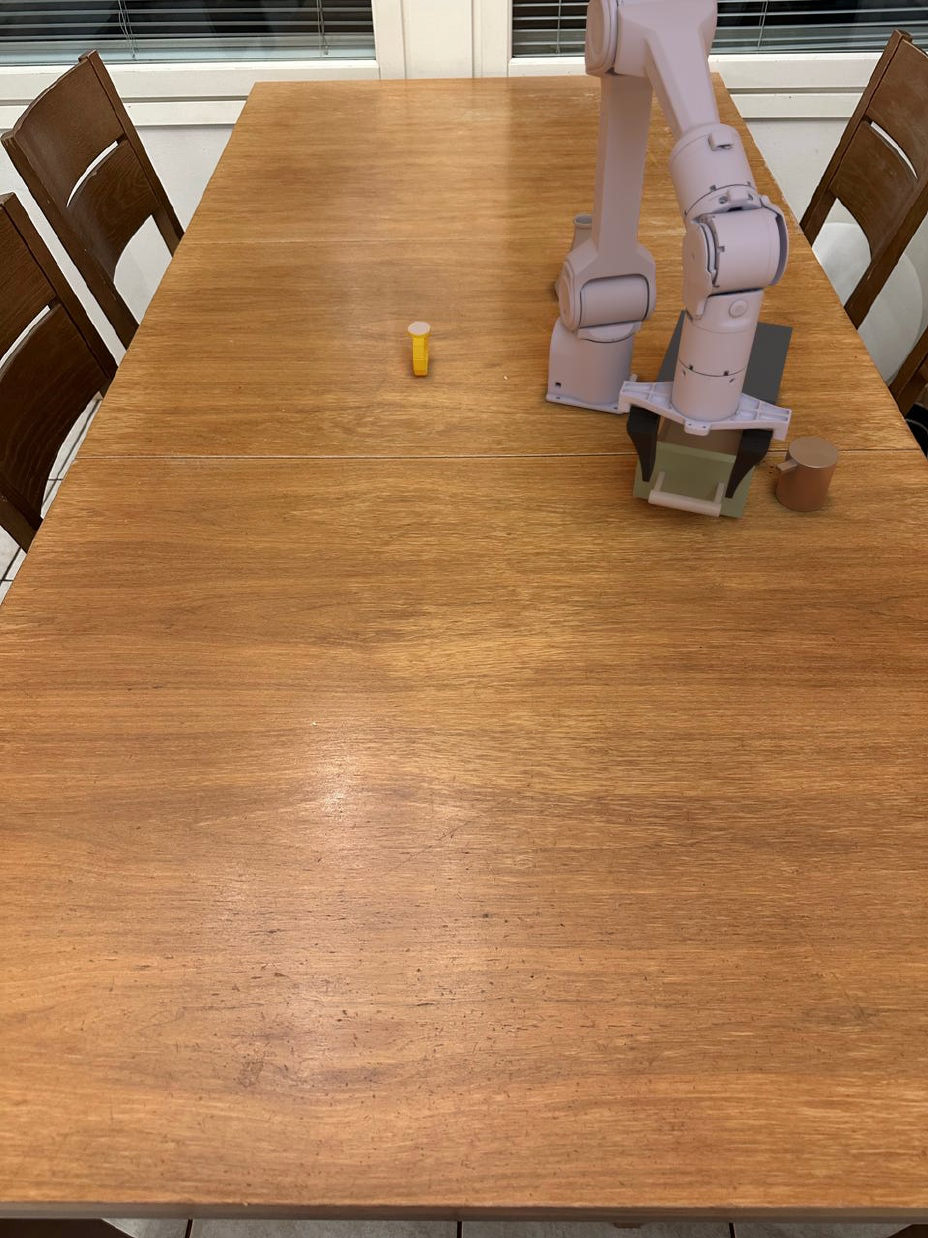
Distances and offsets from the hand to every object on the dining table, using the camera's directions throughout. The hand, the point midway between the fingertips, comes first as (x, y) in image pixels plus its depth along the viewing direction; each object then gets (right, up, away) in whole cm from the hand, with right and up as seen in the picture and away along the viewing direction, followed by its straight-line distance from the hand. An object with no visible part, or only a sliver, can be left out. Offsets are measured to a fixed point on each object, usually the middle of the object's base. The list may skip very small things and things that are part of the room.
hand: (688, 483), depth 88 cm
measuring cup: (+15, 0, +12) cm, 19 cm away
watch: (-26, +18, +30) cm, 44 cm away
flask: (-5, +32, +41) cm, 53 cm away
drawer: (+4, +2, +13) cm, 14 cm away
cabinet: (+8, +11, +22) cm, 26 cm away
